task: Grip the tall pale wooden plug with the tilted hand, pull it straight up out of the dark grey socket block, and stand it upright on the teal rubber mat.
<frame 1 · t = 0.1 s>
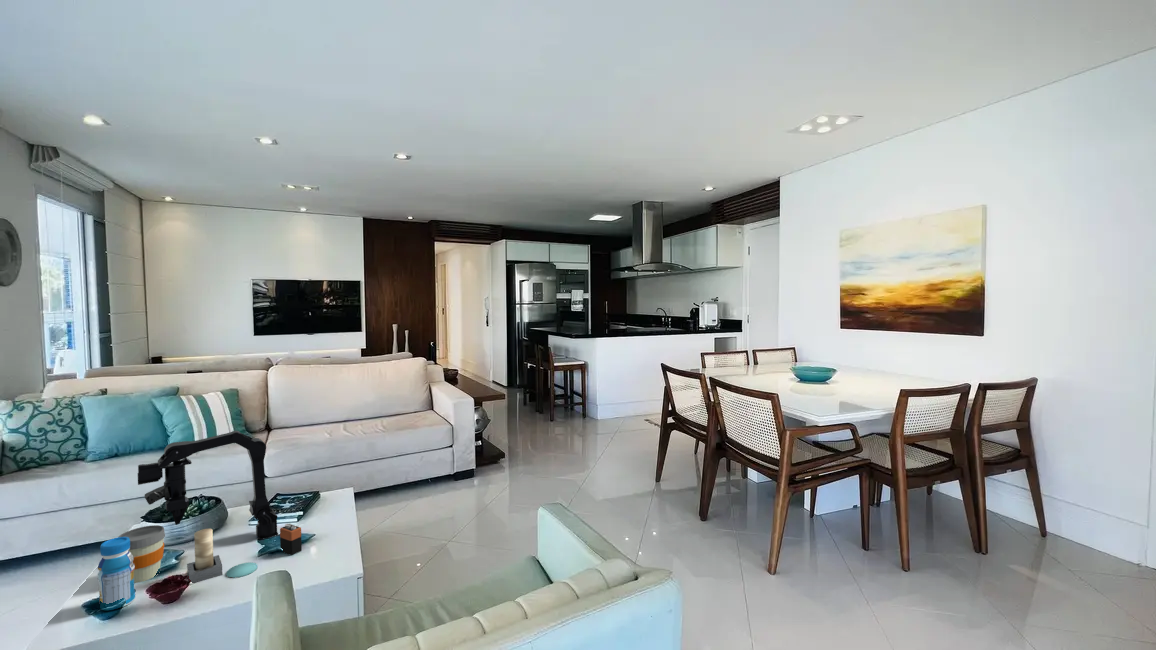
hand: (176, 520, 179), 15 cm above the table, tool pointing down, fingers open, 9 cm apart
mat: (242, 570, 172), on the table
reusable coffee cup: (142, 576, 169), on the table
battery: (291, 551, 186), on the table
plug: (204, 553, 170), in the socket block
socket block: (204, 574, 170), on the table
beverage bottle: (117, 604, 153), on the table
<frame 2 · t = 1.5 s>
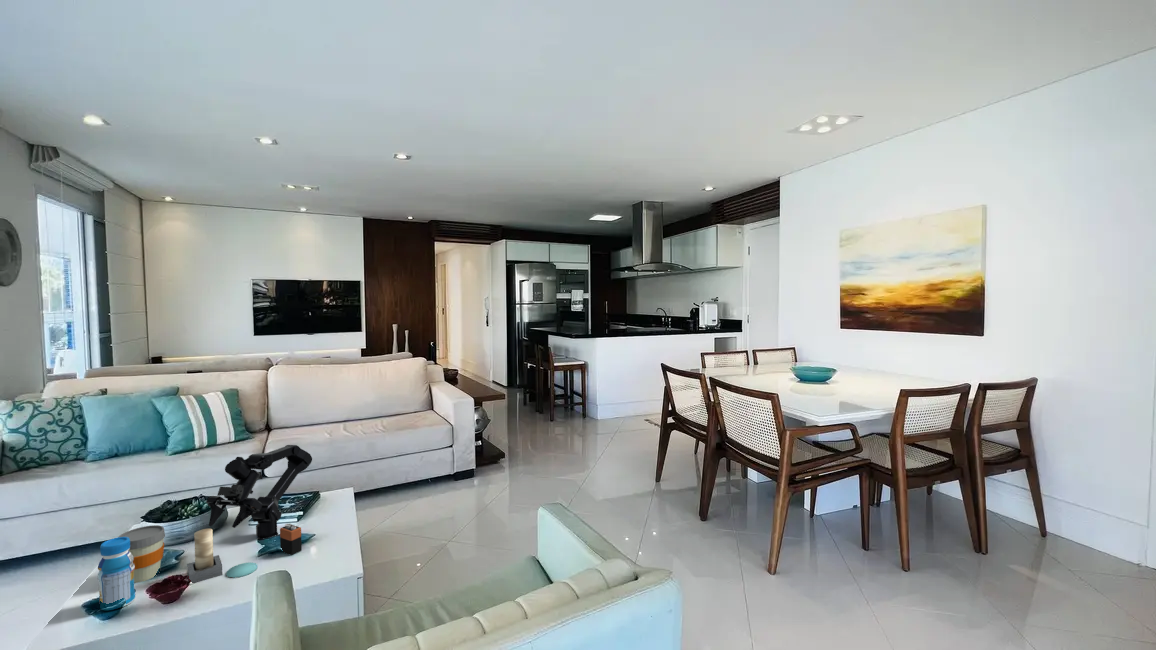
hand: (221, 526, 177), 13 cm above the table, tool tilted 45°, fingers open, 9 cm apart
nothing on the table moved.
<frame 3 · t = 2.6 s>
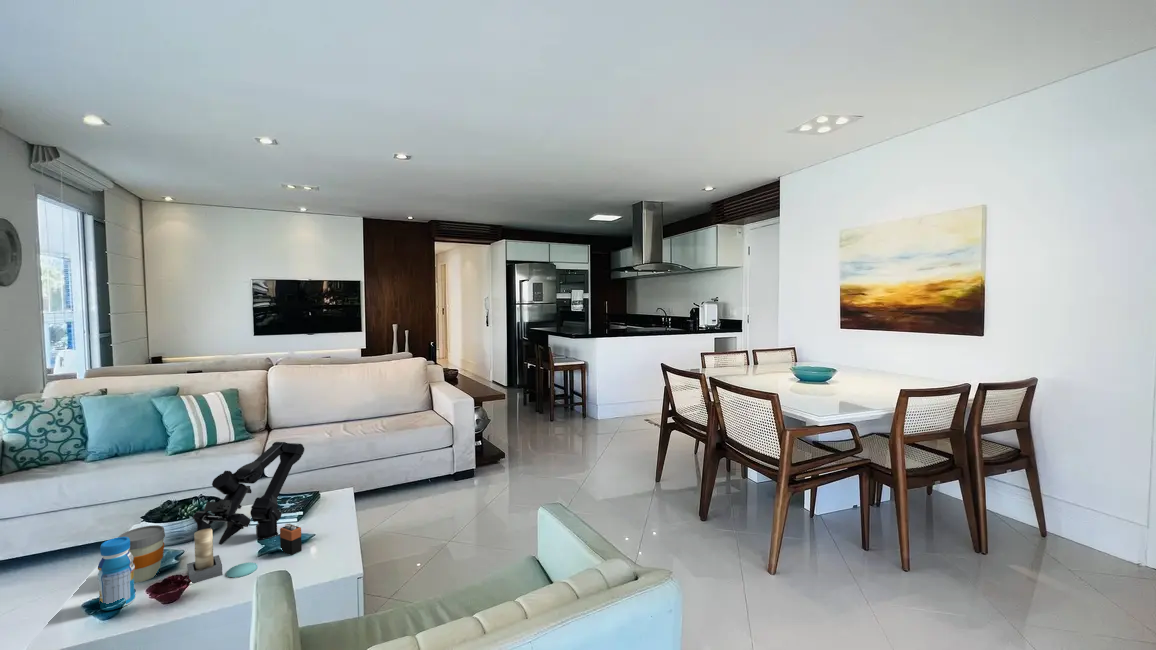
hand: (207, 543, 171), 10 cm above the table, tool tilted 45°, fingers open, 9 cm apart
nothing on the table moved.
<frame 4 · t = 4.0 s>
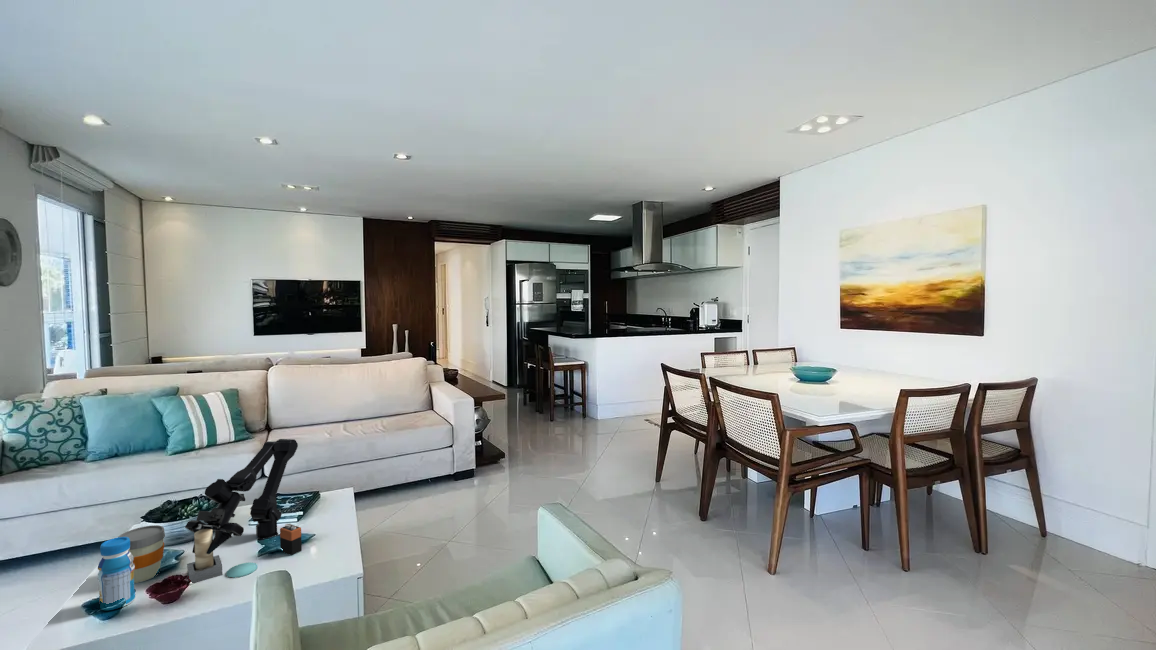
hand: (200, 553, 168), 8 cm above the table, tool tilted 45°, fingers closed on plug, 5 cm apart
plug: (204, 553, 170), in the socket block, touching gripper
everything else where it was.
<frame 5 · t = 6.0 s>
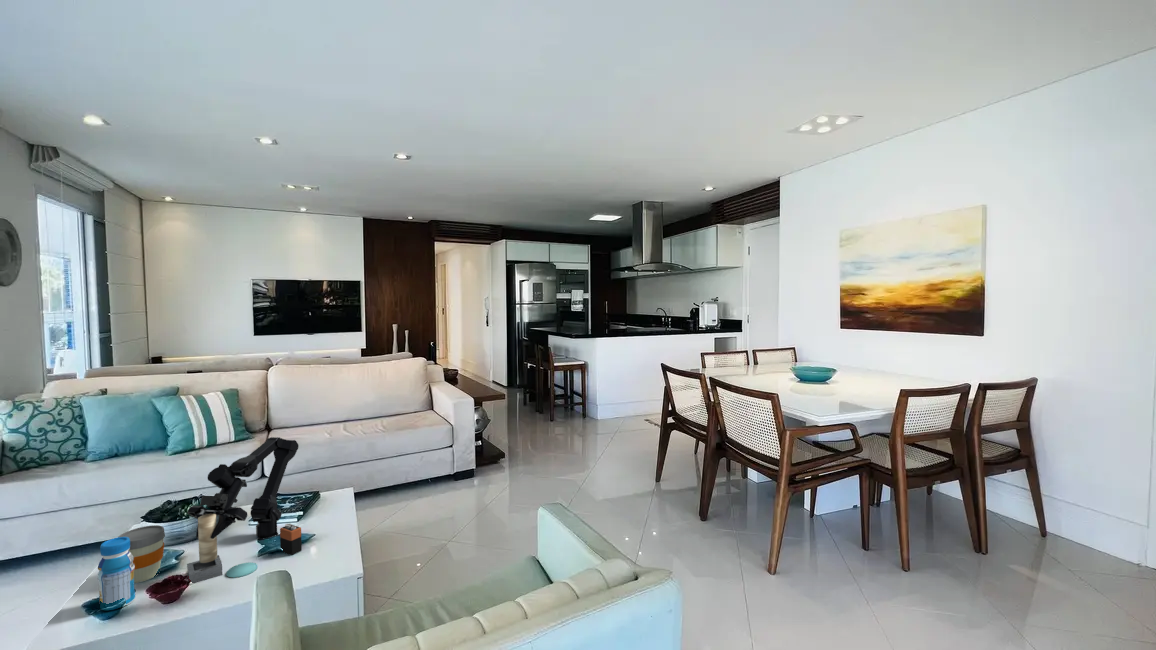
hand: (204, 538, 168), 13 cm above the table, tool tilted 45°, fingers closed on plug, 5 cm apart
plug: (207, 537, 170), point 13 cm above the table, touching gripper
everything else where it was.
when the fingers open (10 cm above the table, at t = 8.0 s): plug stays where it is, resting on mat.
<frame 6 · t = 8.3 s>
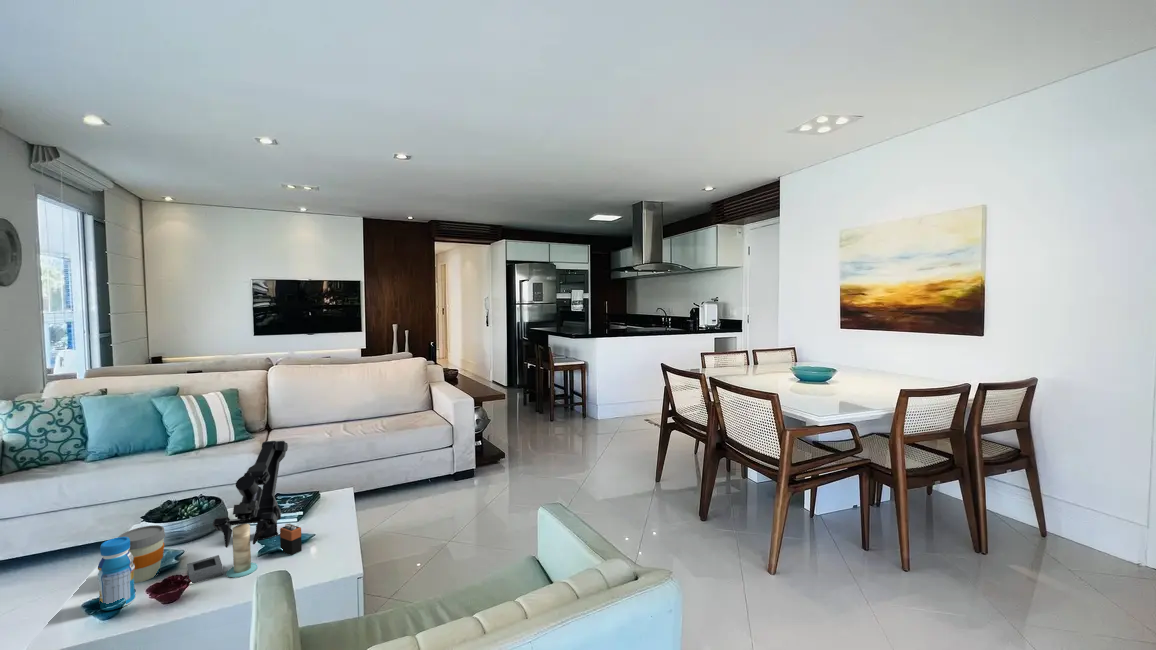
hand: (240, 545, 171), 10 cm above the table, tool tilted 45°, fingers open, 8 cm apart
plug: (241, 548, 172), on the mat, point 8 cm above the table
everything else where it was.
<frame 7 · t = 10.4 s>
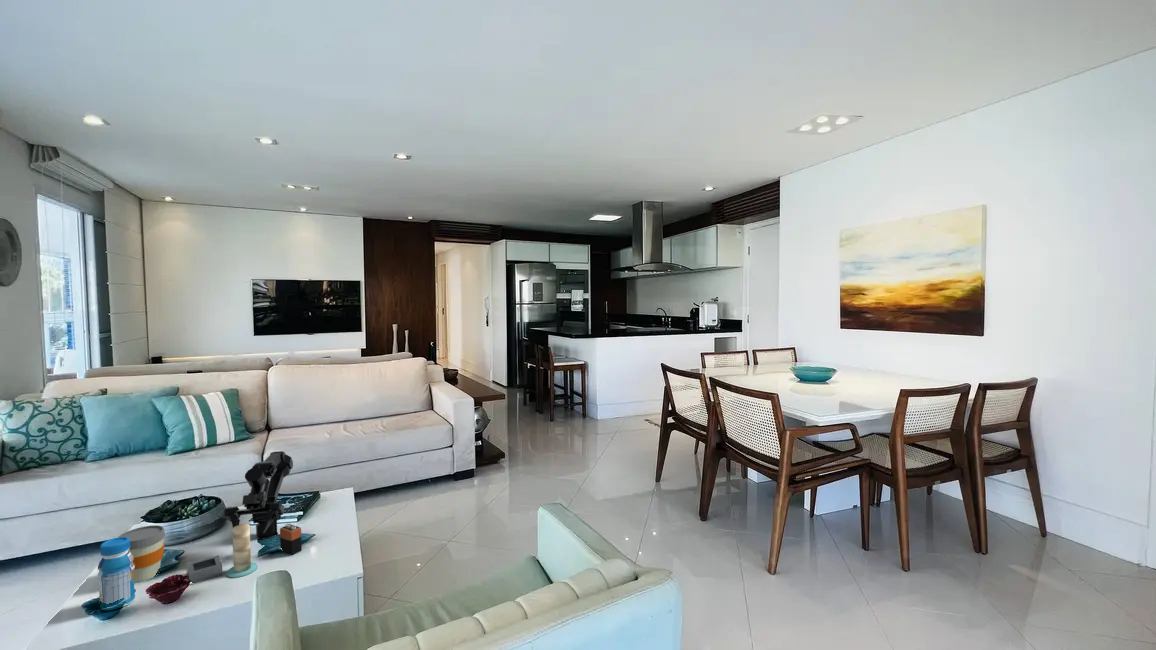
hand: (249, 534, 179), 10 cm above the table, tool tilted 45°, fingers open, 9 cm apart
nothing on the table moved.
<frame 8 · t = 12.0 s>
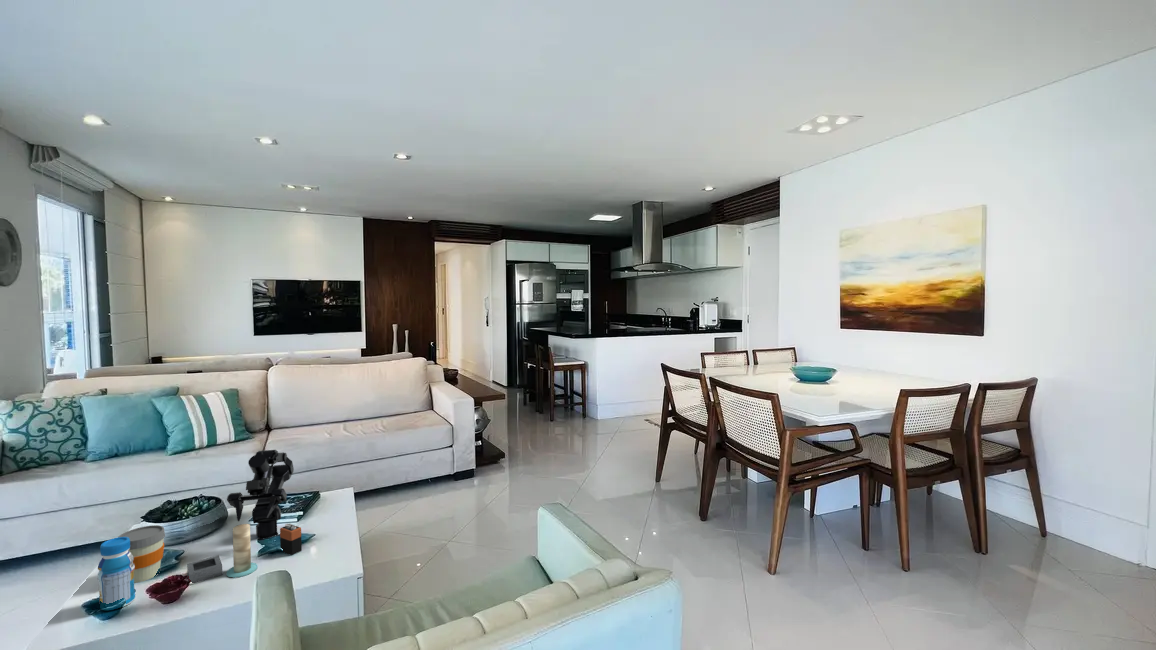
hand: (252, 519, 183), 14 cm above the table, tool tilted 45°, fingers open, 9 cm apart
nothing on the table moved.
at the end: plug 0.1 cm off-centre on the mat, point 8.1 cm above the mat's base; plug tilted 0°; the gripper is holding nothing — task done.
